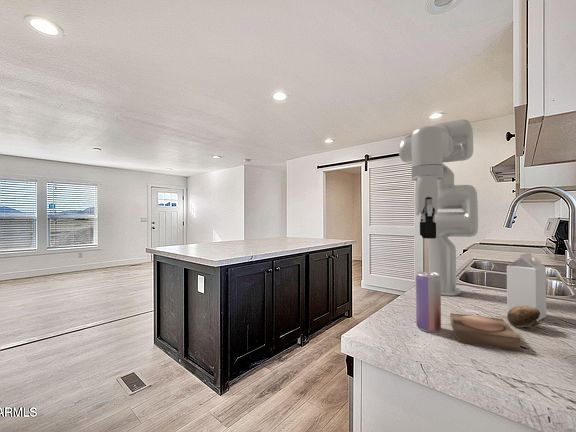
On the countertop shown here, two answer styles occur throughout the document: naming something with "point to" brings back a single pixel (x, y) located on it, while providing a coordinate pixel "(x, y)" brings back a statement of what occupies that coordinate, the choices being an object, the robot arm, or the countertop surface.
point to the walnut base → (484, 331)
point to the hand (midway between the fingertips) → (427, 236)
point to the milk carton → (527, 284)
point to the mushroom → (523, 316)
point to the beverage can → (428, 301)
